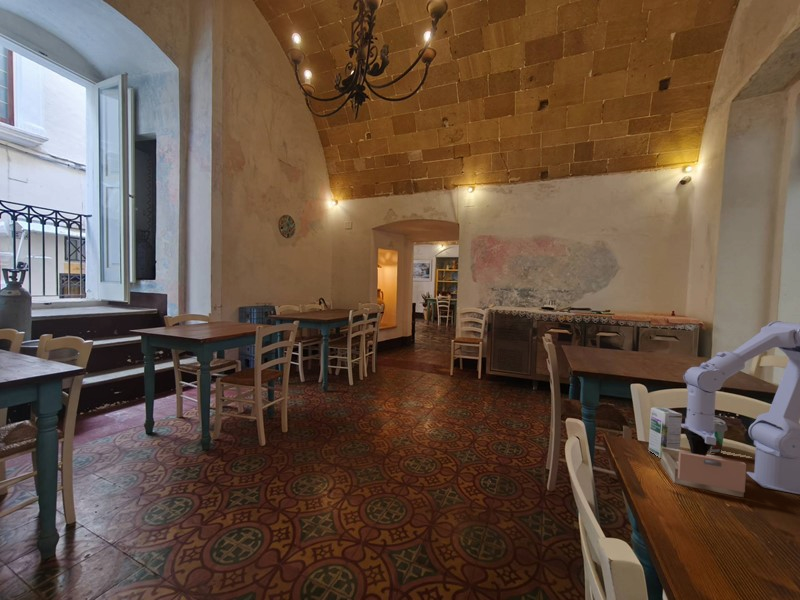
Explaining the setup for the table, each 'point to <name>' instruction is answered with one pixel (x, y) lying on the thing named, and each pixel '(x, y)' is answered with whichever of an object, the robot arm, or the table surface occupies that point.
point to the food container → (718, 435)
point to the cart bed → (671, 466)
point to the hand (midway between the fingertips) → (697, 459)
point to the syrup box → (664, 430)
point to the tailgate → (712, 471)
